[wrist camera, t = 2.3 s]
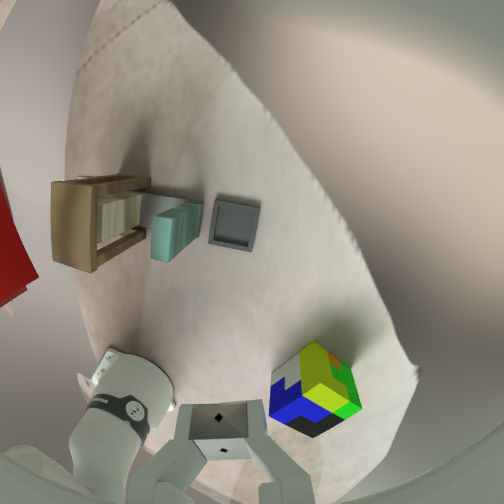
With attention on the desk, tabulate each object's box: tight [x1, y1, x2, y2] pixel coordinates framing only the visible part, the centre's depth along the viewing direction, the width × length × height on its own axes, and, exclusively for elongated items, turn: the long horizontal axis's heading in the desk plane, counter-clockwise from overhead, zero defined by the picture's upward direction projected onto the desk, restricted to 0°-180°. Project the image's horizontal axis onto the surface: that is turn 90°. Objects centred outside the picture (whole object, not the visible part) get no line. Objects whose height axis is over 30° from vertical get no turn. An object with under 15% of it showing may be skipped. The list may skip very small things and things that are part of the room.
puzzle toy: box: [269, 341, 362, 438], centre depth 39 cm, size 10×10×10 cm
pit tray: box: [208, 199, 260, 252], centre depth 36 cm, size 6×6×1 cm
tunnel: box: [51, 174, 151, 273], centre depth 31 cm, size 6×9×14 cm
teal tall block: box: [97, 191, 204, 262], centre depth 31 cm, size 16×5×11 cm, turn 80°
